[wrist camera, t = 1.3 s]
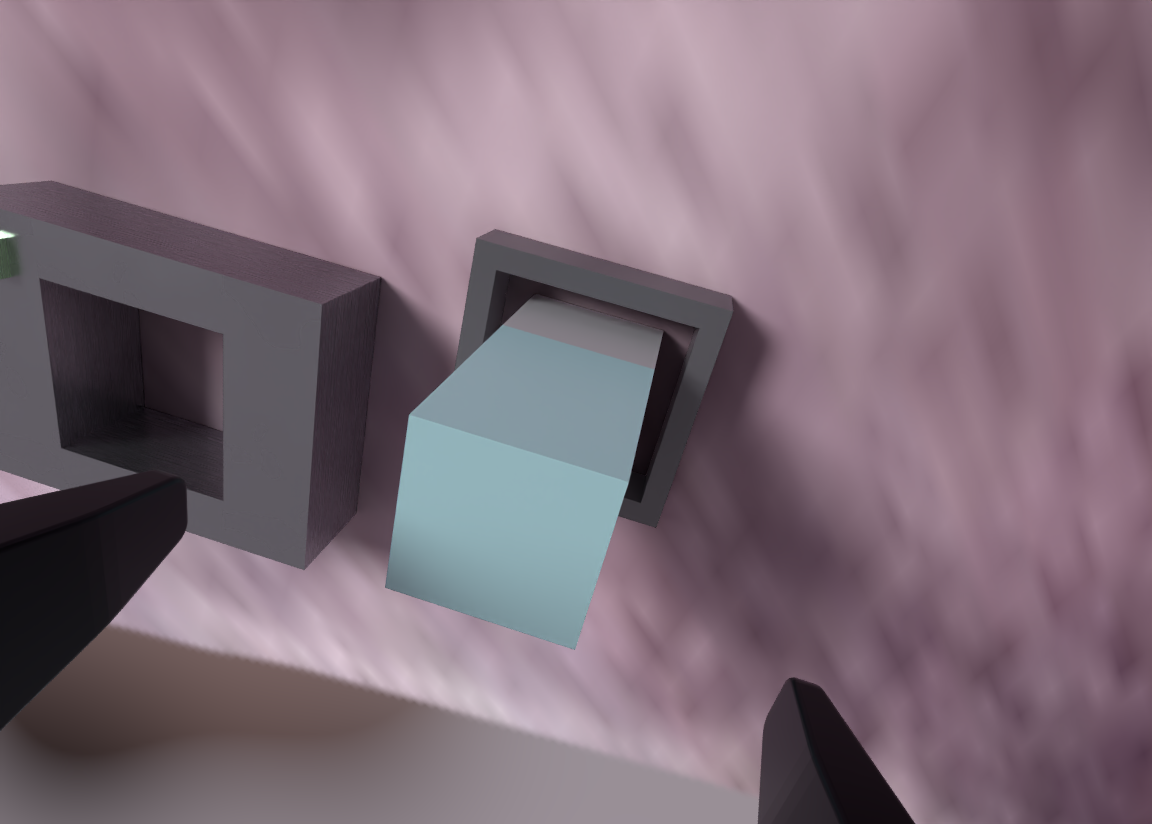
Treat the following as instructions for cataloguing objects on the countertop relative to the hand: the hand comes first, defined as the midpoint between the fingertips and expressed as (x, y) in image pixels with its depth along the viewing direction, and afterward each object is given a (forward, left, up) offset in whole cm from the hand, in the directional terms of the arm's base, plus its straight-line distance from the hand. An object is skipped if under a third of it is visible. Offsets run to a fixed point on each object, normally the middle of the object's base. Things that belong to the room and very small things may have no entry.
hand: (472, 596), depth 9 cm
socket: (+11, +3, -9) cm, 15 cm away
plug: (0, 0, -10) cm, 10 cm away
